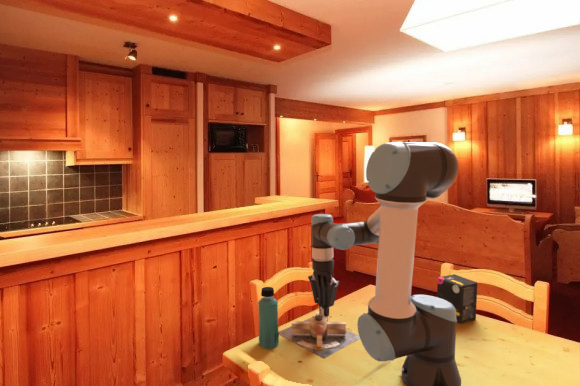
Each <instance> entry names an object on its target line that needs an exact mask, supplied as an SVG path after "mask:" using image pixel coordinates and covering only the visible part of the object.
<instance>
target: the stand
mask: <svg viewBox="0 0 580 386" xmlns="http://www.w3.org/2000/svg"><path fill="white" fill-rule="evenodd" d="M304 321H306V322H310V318H308V319H305V320H304ZM278 332H279V336H281V337H282V338H284V339H286V340H289V341H290V342H292V343H294V344H296V345H298V346H299V347H302V348H304V349H305V350H307V351H309V352H310V353H312V354H314V355H316V356H318V357H320V358H322V359H326V358H328V357H329V356H331V355H333V354H335V353H336V352H339V351H341V350H342V349H344V348H346V347H347V346H349V345H351V344H352V343H355V342H356V341H358V340H361V339H360V337H359V334H356V333H355V332H351V331H349V330H348V329H346V334H327V336H326V337H324V338H322V347H317V338H314V337H312V336H311V335H310V334H292V325H291V326H289V327H287V328H283V329H281V330H278Z"/></svg>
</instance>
